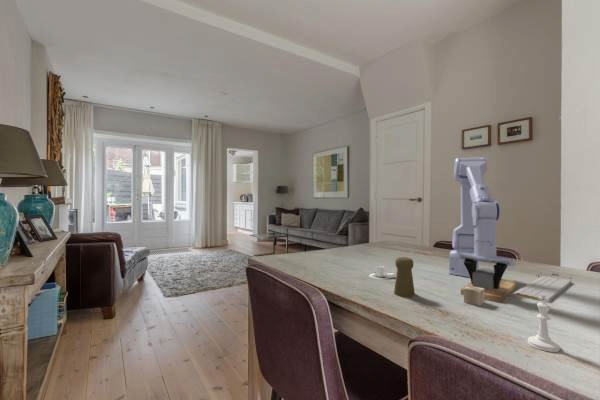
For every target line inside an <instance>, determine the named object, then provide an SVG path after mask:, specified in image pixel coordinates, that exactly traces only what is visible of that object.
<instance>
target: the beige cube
mask: <svg viewBox="0 0 600 400" xmlns="http://www.w3.org/2000/svg"><path fill="white" fill-rule="evenodd" d="M467 285H468V284H467ZM467 285H466V286H467ZM464 287H465V286H464ZM464 287H463V288H464ZM463 303H465V304H468V305H469V304H470V305H473V306H477V307H478V306H479V307H481V306H482V305H483V304H485V299H484V288H479V287H474V286H469V285H468V286H467V287H465V288H464V295H463Z"/></svg>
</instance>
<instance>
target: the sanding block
mask: <svg viewBox="0 0 600 400" xmlns="http://www.w3.org/2000/svg"><path fill="white" fill-rule="evenodd" d="M494 283H495V272H494V269H491V268H486V267H481V268H479V270H477V271H475V272H473V277H472V286H474V287H479V288H484V292H488V293H493V292H494V291H495V290H496V289H495V288H494ZM499 287H500V285H499Z"/></svg>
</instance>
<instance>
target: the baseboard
mask: <svg viewBox="0 0 600 400" xmlns="http://www.w3.org/2000/svg"><path fill="white" fill-rule="evenodd" d="M540 274H541V275H542V274H543V273H542V272H540ZM540 274H537V277H538V278H536V279H534V280H533V281H531V282H529V283H527V284H526V285H524V286H522V287H520V288H519V289H518V290H515V291H514V292H512V293H511V295H512V296H516V297H521V298H525V299H530V300H536V301H539V302H542V300H539V299H538V297H542V295H546V299H549V302H551V301H552V300H553V299H554V298H555V297H557V296H558V295H559V294H560V293H561V292H563V291H564V290H565V289H566V288H568V287H569V286H570V285H571V284H572V277H569V279H567V278H568V277H566V276H565V278H563V279H562V278H559V277H561V275H559V274H558V273H557V274H556V273H555V274H554V273H551V274H550V276H547V275H549V274H547V273H546V275H544V276H540ZM553 276H554V277H553ZM555 276H557V277H555ZM545 303H547V302H546V301H545Z"/></svg>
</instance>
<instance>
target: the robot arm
mask: <svg viewBox="0 0 600 400" xmlns="http://www.w3.org/2000/svg"><path fill="white" fill-rule="evenodd" d="M487 170H488V161H487V158H486V157H485V156H482V157H480V156H479V157H456V158H455V159H454V163H453V178H454V180H455V181H456V182H459V186H460V225H458V226H457V227H455V228H454V229H453V231H452V237H451V241H452V242H451V245H452V248H453V249H452V250H450V253H449V255H448V256H449V263H448V269H449V270H448V274H449V275H454V276H460V277H461V276H462V277H465V278H470V283H472V277H473V272H475V271H477V270H479V269H480V268H479V266H480V264H479V263H480V262H482V263H491V264H494V265H493V270H494V272H495V283H494V288H495V289H498V288H499V285H500V281H501V279H503V278H502V277H503V276H504V273H505V271H506V270H507V268H508V266H510V267H515V266H516V258H514V257H513V258H511V257H506V256H499V255H497V248H498V247H497V243H498V241H497V235H498V234H497V232H498V231H497V222H498V221H499V219H500V215H501V207H500V204H499V201H498V200H496V199H494V198H493V195H492V192H491V191H492V190H491V188H490V187H489V185H487V184H485V180H484V176H485V174H486V172H487Z"/></svg>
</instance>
